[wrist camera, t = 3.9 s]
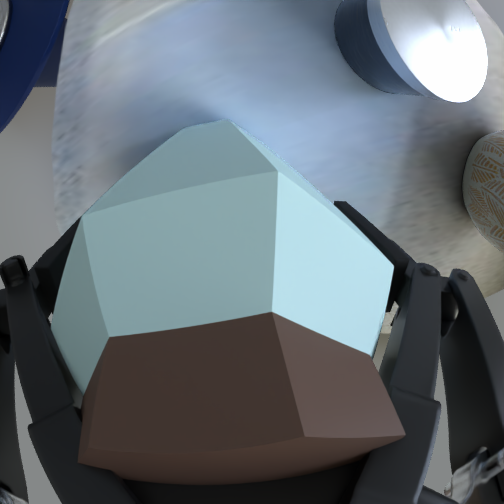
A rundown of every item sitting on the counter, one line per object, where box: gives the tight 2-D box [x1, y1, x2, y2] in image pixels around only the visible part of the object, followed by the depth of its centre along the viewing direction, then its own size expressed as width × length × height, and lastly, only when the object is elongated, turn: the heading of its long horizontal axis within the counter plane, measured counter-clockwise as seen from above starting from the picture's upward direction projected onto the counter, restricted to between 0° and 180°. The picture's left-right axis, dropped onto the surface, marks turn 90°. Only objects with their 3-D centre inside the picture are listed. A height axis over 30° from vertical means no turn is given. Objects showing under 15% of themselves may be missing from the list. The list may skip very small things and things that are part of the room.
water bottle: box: [51, 119, 406, 485], centre depth 15 cm, size 10×10×25 cm
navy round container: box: [334, 0, 487, 103], centre depth 16 cm, size 13×13×9 cm
